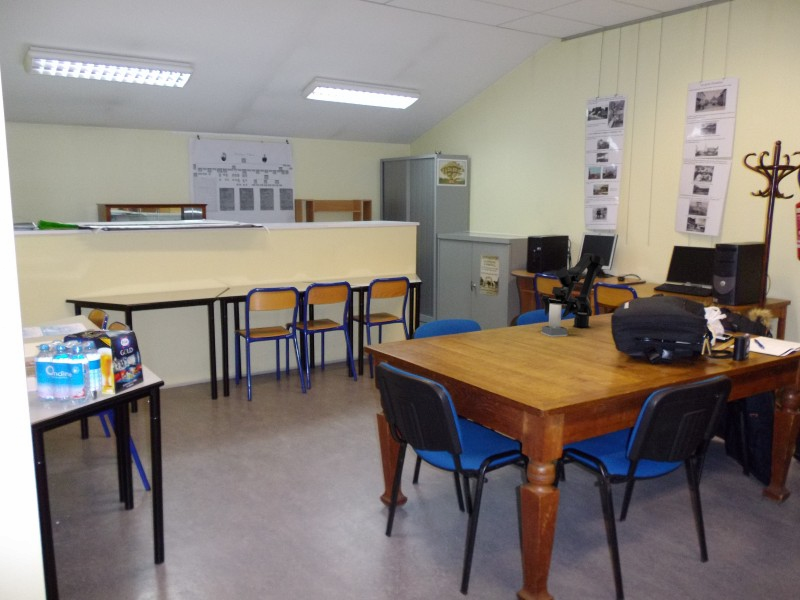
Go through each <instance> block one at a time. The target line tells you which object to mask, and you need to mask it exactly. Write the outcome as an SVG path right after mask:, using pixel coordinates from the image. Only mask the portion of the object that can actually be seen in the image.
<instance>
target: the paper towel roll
mask: <svg viewBox="0 0 800 600" xmlns="http://www.w3.org/2000/svg"><path fill="white" fill-rule="evenodd" d="M562 307H563V305H562V304H554V303H553V304H550V307H549V313H548V326H549V328H550V329H560V328H561V327H562V325H561V324H562Z"/></svg>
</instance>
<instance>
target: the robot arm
mask: <svg viewBox="0 0 800 600" xmlns="http://www.w3.org/2000/svg"><path fill="white" fill-rule="evenodd" d="M604 264H605V259H604V258H603V257H602V256H598V255H595V254H593V253H586V252H585V253H583V254H582V257H581V258H580V260H579V261H577V263H576V264H575V265H574V266H573V267H569V268H568V267H562V268H561V269H559V270H557V271H556V273H555V276H556V279H557V281H558V282H559V284H560V285H561V286H553V287H552V289H551V290H552V291H551V294H553V297H554V298H552V297H551V296H550V295H544V294H543V295H542V296H541V298H540V301H541V302H542V305H543V306H544V316H547V315H549V307H550V304H562V306H566V307H565V309H564V312H563V314H562V315H561V318H562V319H565V318H566V317H567V316H569V315H570V314H572V315H573V316H574V319H573V320H574V321H573V325H572V327H575V328H578V329H586V328H587V327H590V328H591V326H590V325H589V324H590V317H592V315H593V309H592V307H591V301H590V295H591V292H592V290H593V286H594V283H595V279H596V276H597V274H598V273H599V272H601V270H602V269H603V267H604ZM585 270H587V271H586V274H585V277H584V280H583V284H582V287H581V289H580V293H579V295H576V296H574V298H572V293H573V291H576V290H577V288H576V284H575V283H580V282H581V280H582V279H583V273H584V272H585Z"/></svg>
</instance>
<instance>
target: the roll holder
mask: <svg viewBox="0 0 800 600" xmlns="http://www.w3.org/2000/svg"><path fill="white" fill-rule="evenodd" d="M541 328H542V329H541V332H540V333H541V334H542V335H545V336H548V337H550V338H551V337H553V338H554V337H556V338H557V337H568V328H567V327H564V326H561V328H560V329H550V328H549V325H542V327H541Z"/></svg>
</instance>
